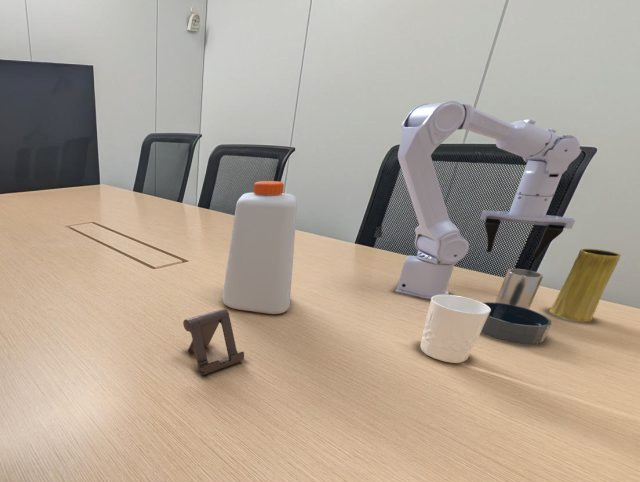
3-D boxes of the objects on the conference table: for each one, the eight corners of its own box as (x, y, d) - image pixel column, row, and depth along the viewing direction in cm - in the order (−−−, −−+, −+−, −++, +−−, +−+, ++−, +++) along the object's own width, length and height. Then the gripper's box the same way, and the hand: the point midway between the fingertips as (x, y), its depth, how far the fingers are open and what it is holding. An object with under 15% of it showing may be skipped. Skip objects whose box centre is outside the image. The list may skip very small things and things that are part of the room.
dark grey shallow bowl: (464, 331, 75) (471, 313, 73) (472, 314, 82) (478, 297, 80) (542, 352, 68) (551, 332, 66) (543, 331, 74) (551, 313, 73)
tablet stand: (204, 377, 63) (206, 334, 60) (177, 355, 69) (178, 315, 66) (243, 363, 67) (248, 321, 63) (214, 343, 73) (217, 304, 70)
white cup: (459, 345, 70) (477, 297, 66) (480, 368, 63) (501, 316, 59) (409, 339, 73) (424, 292, 69) (424, 361, 66) (441, 310, 62)
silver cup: (491, 311, 83) (506, 272, 79) (494, 303, 86) (508, 266, 83) (526, 318, 79) (543, 279, 76) (527, 310, 83) (543, 272, 79)
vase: (600, 323, 76) (635, 257, 71) (564, 321, 78) (595, 256, 72) (573, 310, 82) (604, 248, 76) (540, 309, 83) (568, 247, 78)
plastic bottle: (218, 309, 87) (228, 186, 77) (228, 286, 100) (237, 178, 89) (288, 318, 82) (308, 187, 71) (289, 293, 95) (306, 178, 84)
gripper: (583, 195, 79) (557, 256, 84) (491, 189, 89) (472, 245, 94) (585, 199, 74) (557, 264, 80) (487, 193, 84) (468, 251, 89)
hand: (511, 254), depth 86 cm, fingers open, 7 cm apart
